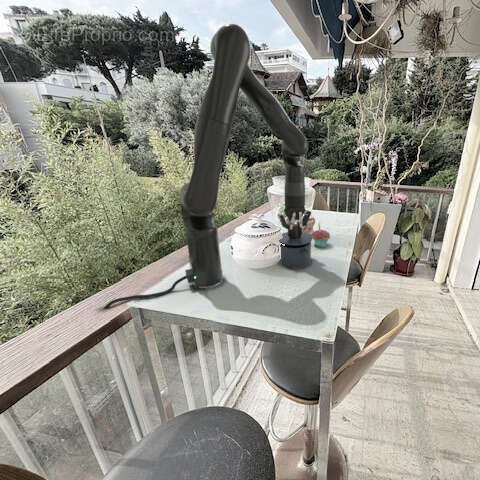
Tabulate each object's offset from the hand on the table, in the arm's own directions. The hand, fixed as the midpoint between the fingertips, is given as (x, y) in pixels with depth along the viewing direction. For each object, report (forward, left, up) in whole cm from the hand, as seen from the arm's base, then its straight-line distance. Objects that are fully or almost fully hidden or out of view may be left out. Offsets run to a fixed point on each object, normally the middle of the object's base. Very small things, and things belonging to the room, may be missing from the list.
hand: (294, 237), depth 103 cm
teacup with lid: (+22, +28, -11) cm, 37 cm away
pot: (0, 0, -11) cm, 11 cm away
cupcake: (+19, +10, -11) cm, 24 cm away
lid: (0, 0, -1) cm, 1 cm away
